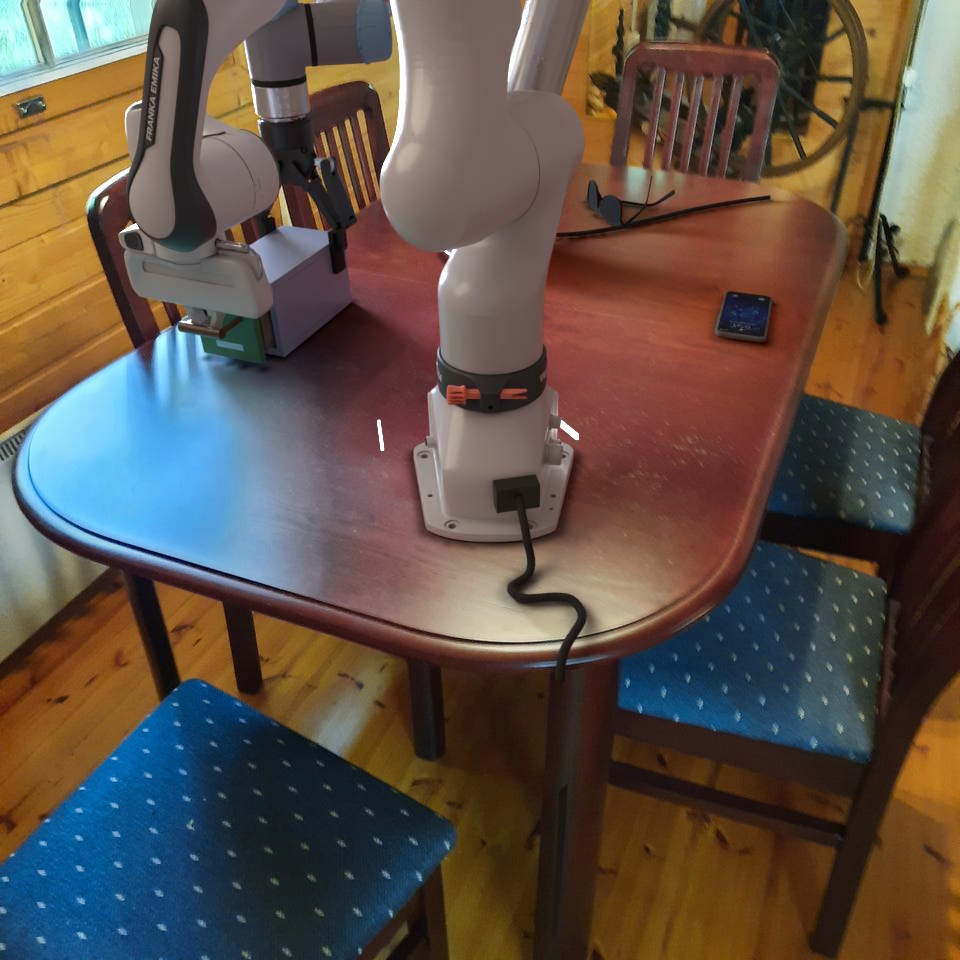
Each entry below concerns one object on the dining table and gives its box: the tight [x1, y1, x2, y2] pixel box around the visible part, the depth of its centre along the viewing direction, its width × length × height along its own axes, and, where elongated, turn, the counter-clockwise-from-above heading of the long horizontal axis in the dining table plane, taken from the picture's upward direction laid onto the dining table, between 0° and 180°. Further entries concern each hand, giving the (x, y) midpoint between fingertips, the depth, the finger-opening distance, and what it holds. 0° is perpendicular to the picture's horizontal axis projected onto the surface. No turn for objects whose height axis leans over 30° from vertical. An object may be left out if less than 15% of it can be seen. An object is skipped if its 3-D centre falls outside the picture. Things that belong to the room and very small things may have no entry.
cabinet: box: [248, 224, 353, 358], centre depth 127 cm, size 20×11×11 cm, turn 157°
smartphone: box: [714, 290, 774, 343], centre depth 128 cm, size 7×1×15 cm
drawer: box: [177, 309, 276, 365], centre depth 122 cm, size 24×10×9 cm, turn 157°
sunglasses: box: [585, 175, 676, 226], centre depth 165 cm, size 17×14×5 cm
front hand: (211, 335), depth 114 cm, fingers closed, pressing on drawer
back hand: (306, 265), depth 132 cm, fingers closed on cabinet, 11 cm apart
